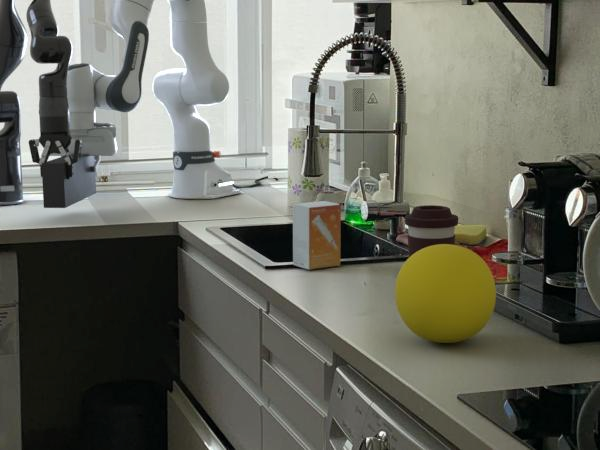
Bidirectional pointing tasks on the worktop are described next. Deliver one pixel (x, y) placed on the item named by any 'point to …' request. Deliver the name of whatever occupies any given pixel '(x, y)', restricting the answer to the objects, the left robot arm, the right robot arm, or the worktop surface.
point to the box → (67, 182)
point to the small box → (316, 234)
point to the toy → (445, 293)
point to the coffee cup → (430, 227)
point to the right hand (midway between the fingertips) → (81, 172)
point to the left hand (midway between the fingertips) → (57, 178)
